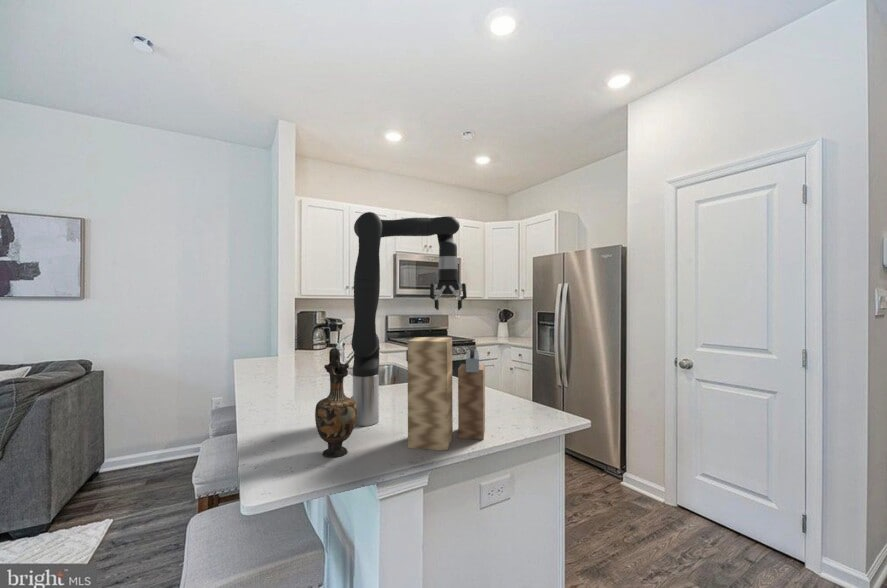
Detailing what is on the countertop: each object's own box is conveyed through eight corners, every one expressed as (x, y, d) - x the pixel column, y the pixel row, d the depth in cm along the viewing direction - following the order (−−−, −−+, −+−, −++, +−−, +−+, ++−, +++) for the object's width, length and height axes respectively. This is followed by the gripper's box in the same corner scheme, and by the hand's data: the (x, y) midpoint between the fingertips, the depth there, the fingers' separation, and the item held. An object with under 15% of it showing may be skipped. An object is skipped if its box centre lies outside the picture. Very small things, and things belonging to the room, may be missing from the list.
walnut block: (458, 438, 123) (458, 369, 123) (461, 427, 132) (461, 363, 133) (483, 439, 121) (483, 369, 122) (485, 428, 131) (484, 364, 131)
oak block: (407, 448, 115) (407, 340, 115) (416, 434, 126) (415, 337, 126) (447, 450, 113) (447, 341, 113) (452, 436, 124) (452, 337, 124)
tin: (465, 372, 118) (465, 351, 118) (466, 361, 138) (466, 343, 138) (479, 372, 118) (478, 351, 118) (477, 361, 138) (477, 343, 138)
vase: (317, 464, 104) (317, 353, 104) (313, 447, 115) (313, 347, 116) (360, 456, 109) (360, 350, 109) (352, 441, 120) (352, 345, 120)
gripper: (428, 268, 148) (428, 310, 148) (465, 267, 146) (465, 310, 146) (432, 269, 156) (432, 309, 156) (467, 269, 153) (467, 309, 153)
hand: (448, 309), depth 151 cm, fingers open, 8 cm apart
